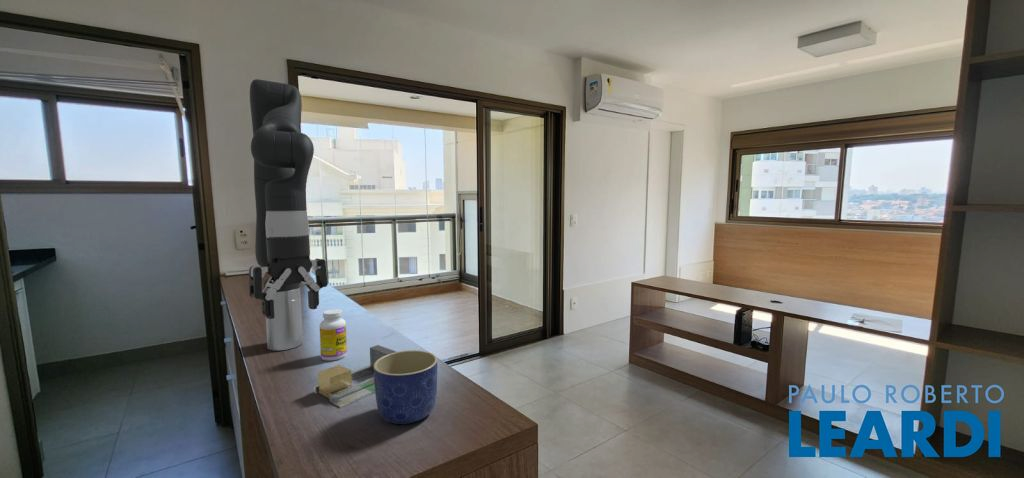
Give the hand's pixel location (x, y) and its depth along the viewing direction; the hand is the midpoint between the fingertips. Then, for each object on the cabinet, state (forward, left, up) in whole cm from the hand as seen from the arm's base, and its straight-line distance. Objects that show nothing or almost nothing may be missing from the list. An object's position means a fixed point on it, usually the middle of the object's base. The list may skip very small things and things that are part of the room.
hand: (292, 313), depth 81 cm
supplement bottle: (-20, +20, -20) cm, 35 cm away
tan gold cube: (+2, +8, -20) cm, 22 cm away
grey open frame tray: (+1, +14, -20) cm, 25 cm away
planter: (+20, +13, -21) cm, 31 cm away
